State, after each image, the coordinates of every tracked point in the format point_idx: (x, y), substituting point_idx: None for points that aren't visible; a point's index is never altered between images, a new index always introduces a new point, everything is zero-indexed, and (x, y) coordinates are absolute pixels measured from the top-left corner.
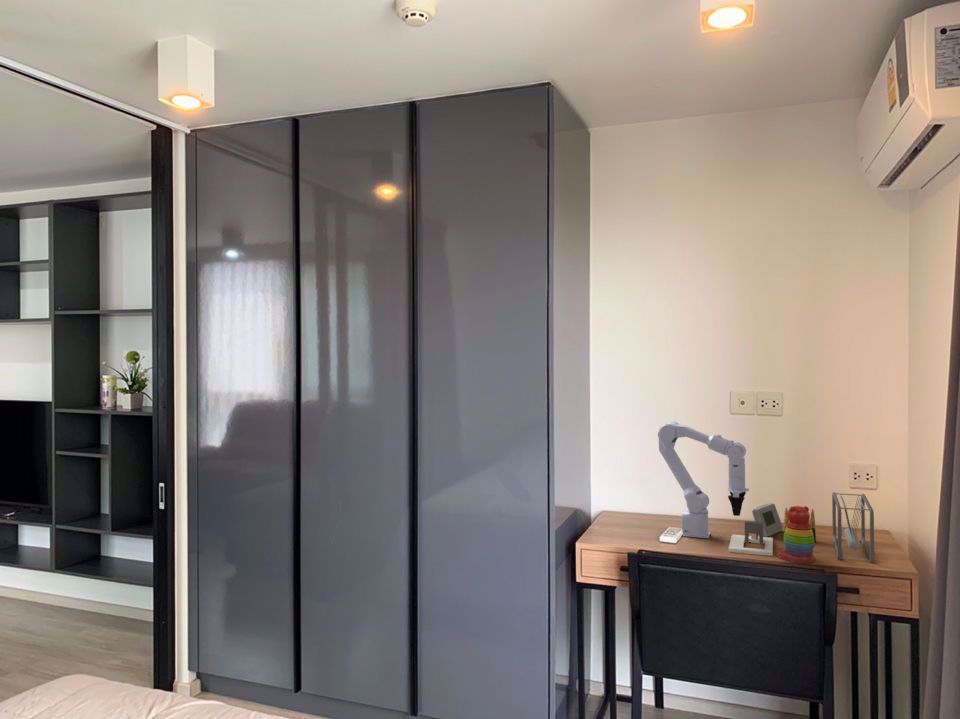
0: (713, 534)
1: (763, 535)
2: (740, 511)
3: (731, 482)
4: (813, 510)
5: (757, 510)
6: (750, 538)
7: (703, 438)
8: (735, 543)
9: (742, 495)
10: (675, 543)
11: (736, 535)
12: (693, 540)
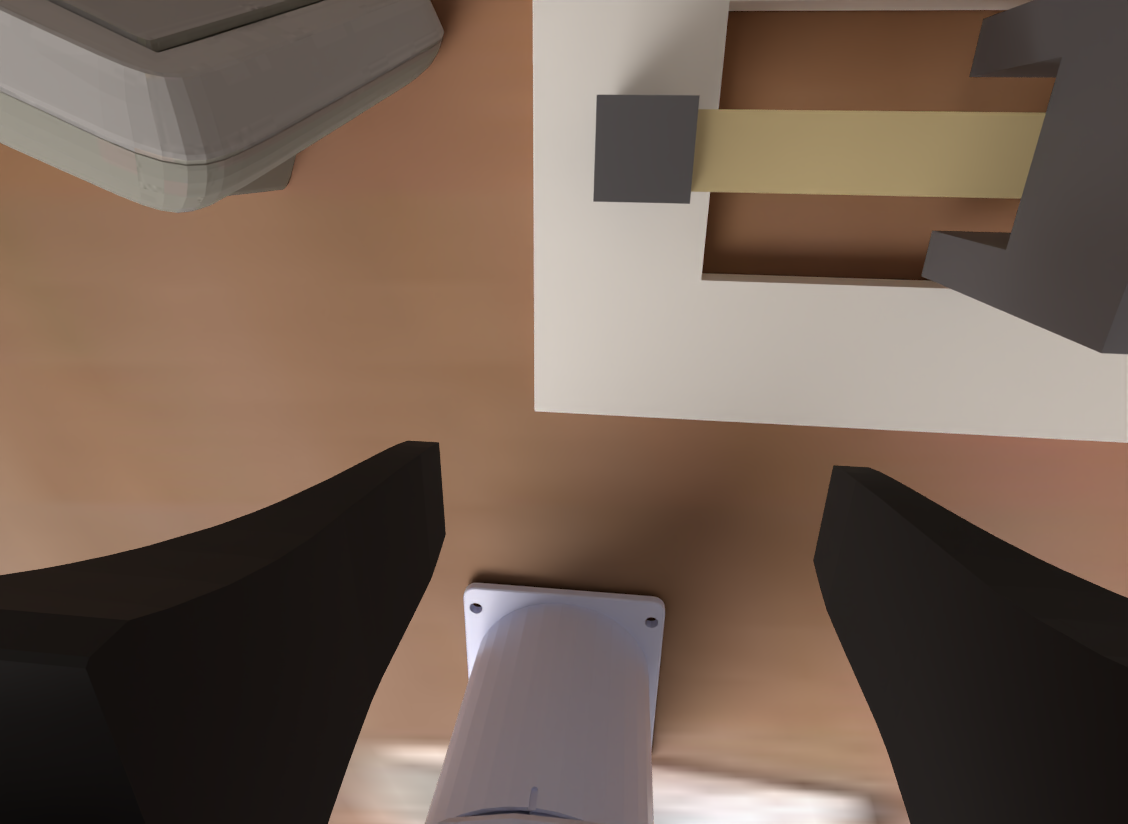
0: (478, 553)
1: (440, 33)
2: (934, 502)
3: None
4: None
5: (181, 85)
6: (662, 207)
7: None
8: (949, 377)
9: (226, 657)
10: (880, 799)
11: (566, 367)
12: (750, 693)
